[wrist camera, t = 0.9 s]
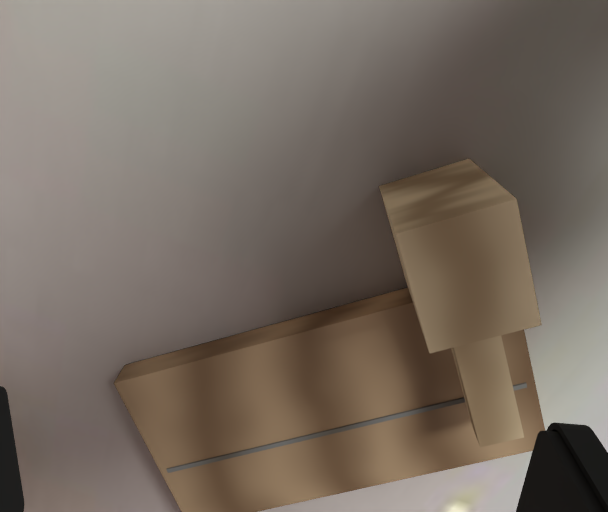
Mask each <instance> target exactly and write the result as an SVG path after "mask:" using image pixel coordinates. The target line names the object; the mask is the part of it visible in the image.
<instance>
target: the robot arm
mask: <svg viewBox="0 0 608 512" xmlns="http://www.w3.org/2000/svg"><path fill="white" fill-rule="evenodd" d="M23 511H24V498H23V491H22V485H21V479H20V472H19V466H18V460H17V453H16V447H15V441H14V434H13V428H12V422H11V415H10V409H9V403H8V396H7V392H6V389H5V388H4V387H1V386H0V512H23ZM516 512H608V453H607V451H606V450H605V448H604V447H603V445H602V444H601V442H600V441H599V439H598V438H597V436H596V435H595V433H594V432H593V431H592V429H591V428H590V427H588V426H586V425H576V424H564V423H552V424H551V425H550V426H549V427H548V429H547V431H544V430H542V431H540V432H539V433H538V435H537V438H536V442H535V445H534V449H533V452H532V456H531V460H530V463H529V467H528V470H527V474H526V478H525V481H524V485H523V488H522V492H521V496H520V499H519V503H518V506H517V510H516Z"/></svg>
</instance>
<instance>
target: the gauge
mask: <svg viewBox="0 0 608 512" xmlns="http://www.w3.org/2000/svg"><path fill="white" fill-rule="evenodd" d="M379 188H380V192H381V195H382V199H383V202H384V206H385V209H386V213H387V216H388V220H389V223H390V227H391V230H392V234H393V237H394V241H395V244H396V248H397V251H398V255H399V258H400V262H401V265H402V269H403V272H404V276H405V279H406V282H407V286H408V289H409V292H410V295H411V298H412V301H413V304H414V307H415V310H416V313H417V316H418V319H419V323H420V326H421V329H422V332H423V335H424V338H425V341H426V344H427V347H428V350H429V353H434V352H438V351H442V350H446V349H449V348H451V350H452V353H453V357H454V361H455V365H456V368H457V372H458V376H459V380H460V383H461V387H462V391H463V395H464V398H465V402H466V406H467V410H468V413H469V417H470V421H471V424H472V427H473V430H474V432H475V435H476V438H477V440H478V443H479V446H480V447H484V446H489V445H493V444H498V443H502V442H506V441H511V440H515V439H520V438H524V434H523V429H522V425H521V420H520V416H519V412H518V407H517V403H516V399H515V394H514V390H513V385H512V381H511V377H510V372H509V368H508V363H507V359H506V355H505V350H504V346H503V342H502V337H501V335H504V334H508V333H512V332H516V331H520V330H524V329H528V328H532V327H536V326H540V325H541V320H540V315H539V309H538V304H537V299H536V294H535V289H534V284H533V279H532V274H531V269H530V264H529V259H528V254H527V249H526V243H525V238H524V233H523V228H522V223H521V218H520V213H519V208H518V203H517V199H516V198H515V197H514V196H513V195H512V194H510V193H509V192H508V191H507V190H506V189H504V188H503V187H502V186H501V185H500V184H499V183H497V182H496V181H495V180H494V179H493V178H492V177H490V176H489V175H488V174H487V173H486V172H484V171H483V170H482V169H481V168H480V167H479V166H477V165H476V164H475V163H474V162H473V161H471V160H470V159H466V160H463V161H459V162H456V163H453V164H450V165H446V166H443V167H440V168H437V169H433V170H430V171H427V172H423V173H420V174H417V175H414V176H410V177H407V178H404V179H400V180H397V181H394V182H391V183H387V184H384V185H381V186H379Z"/></svg>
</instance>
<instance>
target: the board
mask: <svg viewBox="0 0 608 512" xmlns="http://www.w3.org/2000/svg"><path fill="white" fill-rule="evenodd" d="M501 337H502V342H503V346H504V350H505V355H506V359H507V363H508V368H509V372H510V377H511V381H512V385H513V390H514V394H515V399H516V403H517V407H518V412H519V416H520V420H521V425H522V429H523V434H524V438H520V439H515V440H511V441H506V442H502V443H498V444H493V445H489V446H484V447H480V446H479V443H478V440H477V438H476V435H475V432H474V430H473V427H472V424H471V421H470V417H469V413H468V410H467V406H466V402H465V398H464V395H463V391H462V387H461V383H460V380H459V376H458V372H457V368H456V365H455V361H454V357H453V353H452V350H451V348H449V349H446V350H442V351H438V352H434V353H429V350H428V347H427V344H426V341H425V338H424V335H423V332H422V329H421V326H420V323H419V319H418V316H417V313H416V310H415V307H414V304H413V301H412V298H411V295H410V292H409V289H408V288H404V289H401V290H397V291H393V292H390V293H386V294H382V295H379V296H375V297H371V298H368V299H364V300H360V301H357V302H353V303H349V304H346V305H342V306H339V307H335V308H331V309H328V310H324V311H320V312H317V313H313V314H309V315H306V316H302V317H298V318H295V319H291V320H288V321H284V322H280V323H277V324H273V325H269V326H266V327H262V328H258V329H255V330H251V331H247V332H244V333H240V334H236V335H233V336H229V337H226V338H222V339H218V340H215V341H211V342H207V343H204V344H200V345H196V346H193V347H189V348H185V349H182V350H178V351H175V352H171V353H167V354H164V355H160V356H156V357H153V358H149V359H145V360H142V361H138V362H134V363H131V364H127V365H125V366H124V367H123V369H122V371H121V372H120V374H119V375H118V377H117V379H116V380H115V382H114V385H115V387H116V389H117V391H118V393H119V394H120V396H121V398H122V400H123V402H124V404H125V406H126V408H127V410H128V411H129V413H130V415H131V417H132V419H133V421H134V423H135V425H136V427H137V428H138V430H139V432H140V434H141V436H142V438H143V440H144V442H145V444H146V445H147V447H148V449H149V451H150V453H151V455H152V457H153V459H154V461H155V462H156V464H157V466H158V468H159V470H160V472H161V474H162V476H163V478H164V479H165V481H166V483H167V485H168V487H169V489H170V491H171V493H172V495H173V496H174V498H175V500H176V502H177V504H178V506H179V508H180V510H181V512H257V511H262V510H266V509H271V508H275V507H280V506H284V505H289V504H293V503H298V502H303V501H307V500H312V499H316V498H321V497H325V496H330V495H334V494H339V493H343V492H348V491H352V490H357V489H361V488H366V487H370V486H375V485H379V484H384V483H388V482H393V481H397V480H402V479H406V478H411V477H415V476H420V475H424V474H429V473H434V472H438V471H443V470H447V469H452V468H456V467H461V466H465V465H470V464H474V463H479V462H483V461H488V460H492V459H497V458H501V457H506V456H510V455H515V454H519V453H524V452H528V451H533V449H534V445H535V442H536V438H537V435H538V433H539V432H540V431H542V430H544V431H545V428H544V423H543V418H542V414H541V409H540V404H539V399H538V395H537V390H536V385H535V380H534V376H533V371H532V366H531V361H530V357H529V352H528V347H527V342H526V338H525V333H524V330H520V331H516V332H512V333H508V334H504V335H501Z"/></svg>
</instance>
